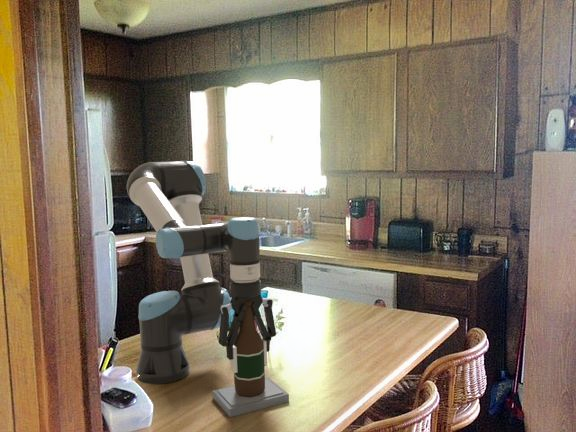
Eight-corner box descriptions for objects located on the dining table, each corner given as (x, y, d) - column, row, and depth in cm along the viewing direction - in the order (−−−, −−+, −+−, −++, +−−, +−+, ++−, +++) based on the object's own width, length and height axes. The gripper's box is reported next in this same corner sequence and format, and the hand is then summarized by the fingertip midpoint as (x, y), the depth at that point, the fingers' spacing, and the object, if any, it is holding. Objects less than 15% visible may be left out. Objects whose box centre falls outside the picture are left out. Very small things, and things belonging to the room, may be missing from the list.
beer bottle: (235, 385, 141) (231, 296, 138) (265, 384, 141) (261, 294, 139) (233, 398, 133) (229, 304, 131) (265, 397, 133) (261, 302, 131)
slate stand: (212, 398, 139) (212, 389, 139) (268, 384, 146) (268, 376, 146) (229, 417, 128) (229, 408, 128) (289, 401, 136) (288, 392, 135)
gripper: (211, 288, 126) (216, 381, 128) (288, 276, 135) (291, 364, 138) (201, 282, 133) (206, 370, 135) (275, 271, 142) (278, 355, 144)
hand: (249, 367), depth 136 cm, fingers open, 7 cm apart
